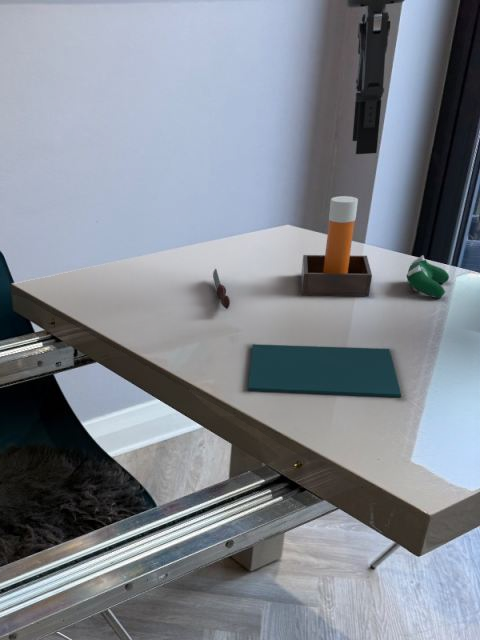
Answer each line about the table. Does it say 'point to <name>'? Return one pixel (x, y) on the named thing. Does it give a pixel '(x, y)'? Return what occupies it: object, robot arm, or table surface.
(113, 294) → the table surface
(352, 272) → the box
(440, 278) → the gaming controller
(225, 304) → the knife
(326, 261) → the glue stick
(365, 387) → the mat
